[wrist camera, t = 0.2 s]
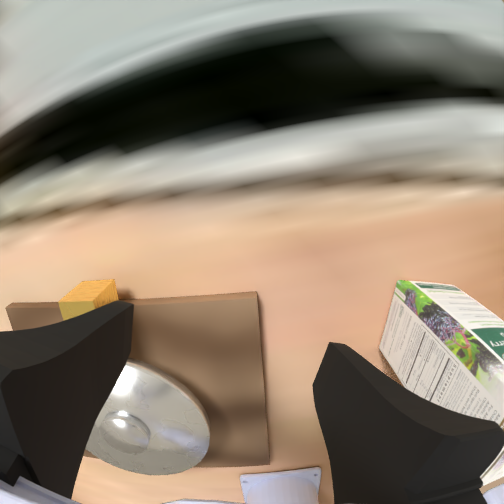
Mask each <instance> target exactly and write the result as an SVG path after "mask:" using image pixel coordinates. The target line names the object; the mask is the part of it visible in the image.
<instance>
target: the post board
mask: <svg viewBox="0 0 504 504" xmlns="http://www.w3.org/2000/svg"><path fill="white" fill-rule="evenodd" d="M120 301H124V302H128V303H132V304H134V312H133V325H132V341H131V352H130V355H129V357H130V358H133V359H137V360H140V361H143V362H145V363H148V364H150V365H153V366H155V367H157V368H159V369H161V370H163V371H164V372H166V373H168V374H169V375H171V376H173V377H174V378H175V379H177V380H178V381H179V382H181V383H182V384H183V385H184V386H186V387H187V388H188V389H189V390H190V391H191V392H192V393H193V394H194V395H195V396H196V398H197V399H198V400H199V402H200V403H201V404H202V406H203V407H204V409H205V411H206V413H207V416H208V419H209V422H210V441H209V447H208V451H207V453H206V455H205V456H204V458H203V459H202V460H201V461H200V462H199V463H198V464H197V465H195V466H194V467H242V466H259V465H270V460H269V446H268V433H267V420H266V407H265V394H264V380H263V367H262V354H261V341H260V328H259V315H258V302H257V292H244V293H231V294H217V295H203V296H188V297H171V298H153V299H133V300H120ZM6 311H7V314H8V317H9V320H10V323H11V326H12V329H13V331H16V330H24V329H32V328H38V327H42V326H47V325H51V324H55V323H58V322H61V321H64V320H63V317H62V314H61V310H60V307H59V303H58V302H41V303H11V304H10V305H8V306H7V307H6ZM83 456H86V457H92V458H98V457H96V456H95V455H93V454H92V453H90V452H89V451H87V450H86V449H85V451H84V454H83ZM98 459H99V458H98Z"/></svg>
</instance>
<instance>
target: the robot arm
mask: <svg viewBox="0 0 504 504" xmlns="http://www.w3.org/2000/svg"><path fill="white" fill-rule="evenodd" d="M133 312H134V304H132V303H128V302H124V301H120V300H117V301H114V302H111V303H109V304H106V305H104V306H101V307H99V308H96V309H94V310H91V311H89V312H87V313H84V314H82V315H79V316H76V317H73V318H70V319H67V320H64V321H61V322H58V323H55V324H51V325H47V326H42V327H38V328H32V329H24V330H16V331H3V332H0V504H81V503H79V502H76V501H73V500H71V497H72V493H73V489H74V485H75V481H76V477H77V474H78V470H79V467H80V464H81V460H82V457H83V454H84V451H85V448H86V445H87V442H88V440H89V437H90V434H91V432H92V429H93V427H94V424H95V422H96V419H97V417H98V415H99V413H100V411H101V410H102V408H103V406H104V404H105V403H106V401H107V399H108V397H109V395H110V394H111V392H112V390H113V388H114V387H115V385H116V383H117V381H118V380H119V378H120V376H121V374H122V372H123V370H124V368H125V365H126V363H127V360H128V357H129V355H130V352H131V341H132V325H133ZM313 394H314V402H315V408H316V412H317V415H318V419H319V423H320V426H321V429H322V433H323V436H324V440H325V443H326V447H327V450H328V455H329V459H330V465H331V473H332V480H333V490H334V502H335V504H504V484H501V485H499V486H497V487H494V488H492V489H490V490H488V491H486V492H485V493H484V494H482V493H481V491H480V490H479V488H481V487H482V486H483V481H482V480H481V478H480V476H481V475H482V474H483V473H484V472H485V471H486V469H487V468H488V467H489V466H490V465H491V464H492V462H493V461H494V460H495V459H496V457H497V456H498V455H499V453H500V452H501V450H502V448H503V446H504V431H503V429H502V428H501V427H500V426H499V424H498V423H496V422H495V421H490V420H486V419H481V418H476V417H471V416H468V415H464V414H461V413H458V412H455V411H452V410H449V409H446V408H444V407H441V406H439V405H437V404H434V403H432V402H430V401H428V400H426V399H424V398H422V397H420V396H418V395H416V394H415V393H413V392H411V391H409V390H408V389H406V388H404V387H403V386H401V385H400V384H398V383H397V382H395V381H394V380H392V379H391V378H389V377H388V376H387V375H385V374H384V373H383V372H381V371H380V370H379V369H377V368H376V367H375V366H373V365H372V364H371V363H370V362H368V361H367V360H366V359H365V358H363V357H362V356H361V355H359V354H358V353H357V352H355V351H354V350H353V349H351V348H350V347H348V346H347V345H345V344H340V343H333V342H329V344H328V347H327V350H326V352H325V355H324V357H323V360H322V363H321V365H320V368H319V370H318V373H317V375H316V378H315V380H314V382H313ZM320 478H321V468H320V467H314V468H307V469H299V470H291V471H282V472H272V473H259V474H244V475H241V476H240V482H241V487H242V491H243V496H244V501H245V503H236V502H227V501H218V500H197V499H182V500H177V501H172V502H167V503H162V504H319V501H318V492H319V485H320Z"/></svg>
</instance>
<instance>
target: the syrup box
mask: <svg viewBox="0 0 504 504" xmlns="http://www.w3.org/2000/svg"><path fill="white" fill-rule="evenodd" d="M379 349H380V351H381V352H382V354H383V355H384V357H385V358H386V360H387V361H388V362H389V364H390V366H391V367H392V369H393V370H394V372H395V374H396V375H397V377H398V378H399V380H400V381H401V383H402V384H403V386H404V387H405V388H406V389H408V390H409V391H411V392H413V393H415V394H416V395H418V396H420V397H422V398H424V399H426V400H428V401H430V402H432V403H434V404H437V405H439V406H441V407H444V408H446V409H449V410H452V411H455V412H458V413H461V414H464V415H468V416H471V417H476V418H481V419H486V420H490V421H495V422H496V423H498V424H499V426H500V427H501V428H502V429H503V431H504V321H503V320H501V319H500V318H499V317H498V316H496V315H495V314H494V313H492V312H491V311H490V310H488V309H487V308H485V307H484V306H483V305H481V304H480V303H479V302H477V301H476V300H475V299H473V298H472V297H470V296H469V295H467V294H466V293H464V292H463V291H461V290H460V289H459V288H457V287H456V286H454V285H450V284H441V283H431V282H419V281H405V280H404V281H403V280H398V281H397V283H396V287H395V291H394V295H393V298H392V302H391V306H390V310H389V313H388V317H387V321H386V324H385V328H384V332H383V335H382V339H381V342H380V346H379ZM503 476H504V446H503V448H502V450H501V452H500V453H499V455H498V456H497V457H496V459H495V460H494V461H493V462H492V464H491V465H490V466H489V467H488V468H487V469H486V471H485V472H484V473H483V474H482V475H481V476H480V478H481V480H482V481H483V486H484V485H486V484H488V483H490V482H492V481H495V480H497V479H499V478H501V477H503Z"/></svg>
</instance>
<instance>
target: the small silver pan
mask: <svg viewBox="0 0 504 504" xmlns="http://www.w3.org/2000/svg"><path fill="white" fill-rule="evenodd" d="M117 300H119V299H118V294H117V290H116V285H115V281H114V279H112V280H96V281H82V282H81V283H80V284H79V285H78V286H76V287H75V288H74V289H73V290H72V291H70V292H69V293H68V294H67V295H66V296H64V297H63V298H62V299H61V300H60V301H59V302H58V303H59V307H60V310H61V314H62V317H63V320H67V319H70V318H73V317H76V316H79V315H82V314H84V313H87V312H89V311H91V310H94V309H96V308H99V307H101V306H104V305H106V304H109V303H111V302H114V301H117ZM209 441H210V422H209V419H208V416H207V413H206V411H205V409H204V407H203V406H202V404H201V403H200V402H199V400H198V399H197V398H196V396H195V395H194V394H193V393H192V392H191V391H190V390H189V389H188V388H187V387H186V386H184V385H183V384H182V383H181V382H179V381H178V380H177V379H175V378H174V377H173V376H171V375H169V374H168V373H166V372H164V371H163V370H161V369H159V368H157V367H155V366H153V365H150V364H148V363H145V362H143V361H140V360H137V359H133V358H130V357H128V360H127V363H126V365H125V368H124V370H123V372H122V374H121V376H120V378H119V380H118V381H117V383H116V385H115V387H114V388H113V390H112V392H111V394H110V395H109V397H108V399H107V401H106V403H105V404H104V406H103V408H102V410H101V411H100V413H99V415H98V417H97V419H96V422H95V424H94V427H93V429H92V432H91V434H90V437H89V440H88V442H87V445H86V448H85V449H86V450H87V451H89V452H90V453H92V454H93V455H95V456H96V457H98V458H99V459H101V460H103V461H105V462H107V463H109V464H111V465H113V466H116V467H118V468H121V469H124V470H127V471H131V472H135V473H140V474H147V475H169V474H176V473H180V472H183V471H186V470H188V469H190V468H192V467H194V466H195V465H197V464H198V463H199V462H200V461H201V460H202V459H203V458H204V456H205V455H206V453H207V451H208V447H209Z"/></svg>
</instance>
